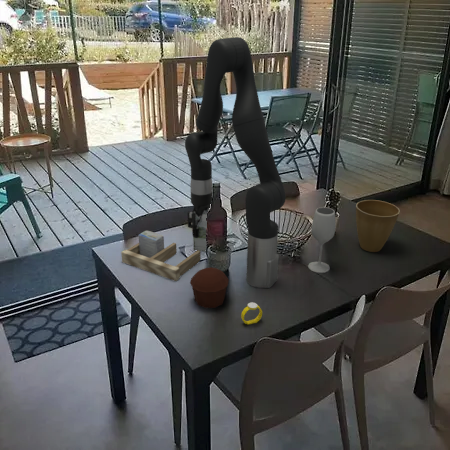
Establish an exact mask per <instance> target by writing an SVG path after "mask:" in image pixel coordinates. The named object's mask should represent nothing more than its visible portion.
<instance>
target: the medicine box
mask: <svg viewBox="0 0 450 450" xmlns="http://www.w3.org/2000/svg"><path fill="white" fill-rule="evenodd" d="M137 236H138V243H139V249H140V255H143V256H146V257H149V258H151V257H152V256H154V255H155V254H157V253H159V252H160V251H162V250H163V249H165V238H164V235H163V234H159V233H156V232H155V231H154V232H153V231H150V230H144V231H143V232H141V233H139V234H138V235H137Z"/></svg>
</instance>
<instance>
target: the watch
mask: <svg viewBox="0 0 450 450" xmlns="http://www.w3.org/2000/svg"><path fill="white" fill-rule="evenodd" d="M257 309H258V310H259V311H258V312H259V313H258V314H257V316H256V317H255V318H254V319H250V320H245V317H246V316H245V315H246V314H247V312H248V311H249V310H250V311H256V310H257ZM240 316H241V317H240V318H241V320H242V322H243V323H244V324H245V325H252V324H257V323H258V322H259V321H260V320H261V319H262V316H263V310H262V308H261V307H260V306H259V305H258V304H257V303H256V302H253V301H251V302H249V303H247V306H246V307H244V308H243V310H242V311H241V314H240Z"/></svg>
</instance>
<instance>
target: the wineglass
mask: <svg viewBox="0 0 450 450" xmlns="http://www.w3.org/2000/svg"><path fill="white" fill-rule="evenodd" d="M310 231H311V235H312V237H313V238H314V240H316V241H317V242H318V243H319V253H318V254H319V256H318V261H311V262H310V263H309V264H308V266H307V267H308V269H309V270H310V271H311V272H312V273H313V272H314V273H318V274H324V273H328V272H330V270H331V269H330V265H329V264H327V263H326V262H323V261H322V254H323V253H322V252H323V246H324V244H325V243H327V242H329V241H330V240H332V239H333V238H334V236H335V233H336V212H335V210H334V209H333V208H330V207H326V206H320V207H318V208H316V209H315V212H314V214H313V220H312V223H311V229H310Z"/></svg>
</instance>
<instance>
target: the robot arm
mask: <svg viewBox="0 0 450 450" xmlns="http://www.w3.org/2000/svg"><path fill="white" fill-rule="evenodd" d="M206 57H207V58H206V65H205V75H204V81H203V82H204V84H203V91H202V92H203V93H202V98H201V104H200V106H199V110H198V113H197V118H196V122H195V126H196V127H197V129H198V130H199V131H200V132H194V133H190V134H188V135H187V136H186V138H185V141H184V147H185V151H186V155H187V157H188V161H189V166H190V183H189V184H190V204H192V206H193V209H192V211H188V212H187V228H189V229H191V230H192V234H191V235H192V237H195V238H198V237H199V225H200V223H201V222H202V215H204V214H205V211H208V210H209V208H210V204H211V201H212V194H213V177H212V175H213V170H212V169H213V168H212V167H213V166H212V162H211V161H210V160H209V159H205V158H201V155H203V154H207V153H212V152H213V151H215V149H216V148H217V145H218V134H219V132H218V128H219V124H220V121H221V117H222V115H223V110H224V102H223V97H222V93H221V85H222V84H221V83H222V81H223V78H224V76H225V74H226V73H227V74H228V73H229V74H230V73H232V75H233V77H234V82H235V88H236V92H235V94H236V95H235V99H234V103H233V108H232V113H231V114H232V115H231V123H232V128H233V131H234V135H235V140H236V143H237V145H238V146H239V147H240V149H241V151H242V152H243V153H244V154H245V155H246V157H248V159H250V160H249V161H251V162H252V164H253V166H254V167H255V170H256V173H257V175H258V176H257V177H258V179H259V183H257V184H255V185H252V186H250V187H249V189H247V191H246V194H245V222H246V225H247V245H246V246H247V249H246V251H247V253H246V273H245V276H246V277H245V278H246V279H245V280H246V282H247V284H248V285H250V286H251V287H255V288H261V289H262V288H263V289H264V288H266V289H270V288H271V287H272V286H273V285H275V284H276V282H277V281H278V276H279V275H278V274H279V273H278V272H279V264H280V263H279V260H280V254H278V253H277V252H278V239H279V225H278V223H277V222H276V221H274V220H272V219H271V213H272V212H275V211H277V210H279V209H281V208H283V206H284V205H285V203H286V198H287V197H286V196H287V195H286V190H285V187H284V185H283V181H282V178H281V175H280V173H279V169H278V166H277V164H276V161H275V158H274V154H273V150H272V147H271V144H270V139H269V136H268V131H267V125H266V122H265V117H264V115H263V111H262V107H261V104H260V100H259V93H258V90H257V85H256V79H255V72H254V65H253V59H252V54H251V50H250V46H249V44H248V43H247V41H246V40H245V39H244V38H242V37H238V36H236V37H233V36H232V37H226V38H225V37H224V38H219V39H216V40H215V39H214V41H212V42H211V44H210V46H209V49H208V51H207V56H206ZM213 195H214V194H213ZM196 214H197V216H198V217H200V219H199V220H198V219H196ZM196 221H197V225H196Z"/></svg>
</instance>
